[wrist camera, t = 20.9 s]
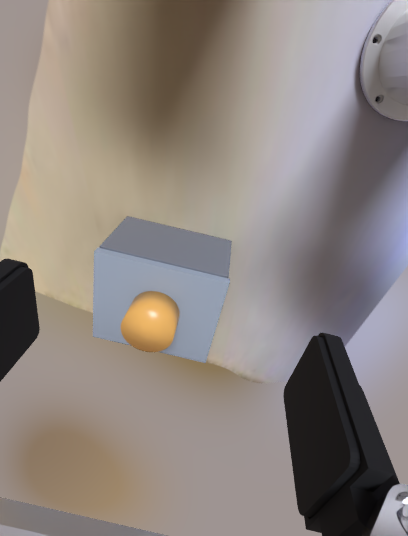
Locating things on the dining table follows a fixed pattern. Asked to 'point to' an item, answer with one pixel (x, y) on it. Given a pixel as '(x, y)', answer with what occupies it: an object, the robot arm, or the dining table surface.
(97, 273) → the lid
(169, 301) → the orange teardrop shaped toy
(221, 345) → the dining table surface
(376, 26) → the robot arm
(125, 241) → the storage box
